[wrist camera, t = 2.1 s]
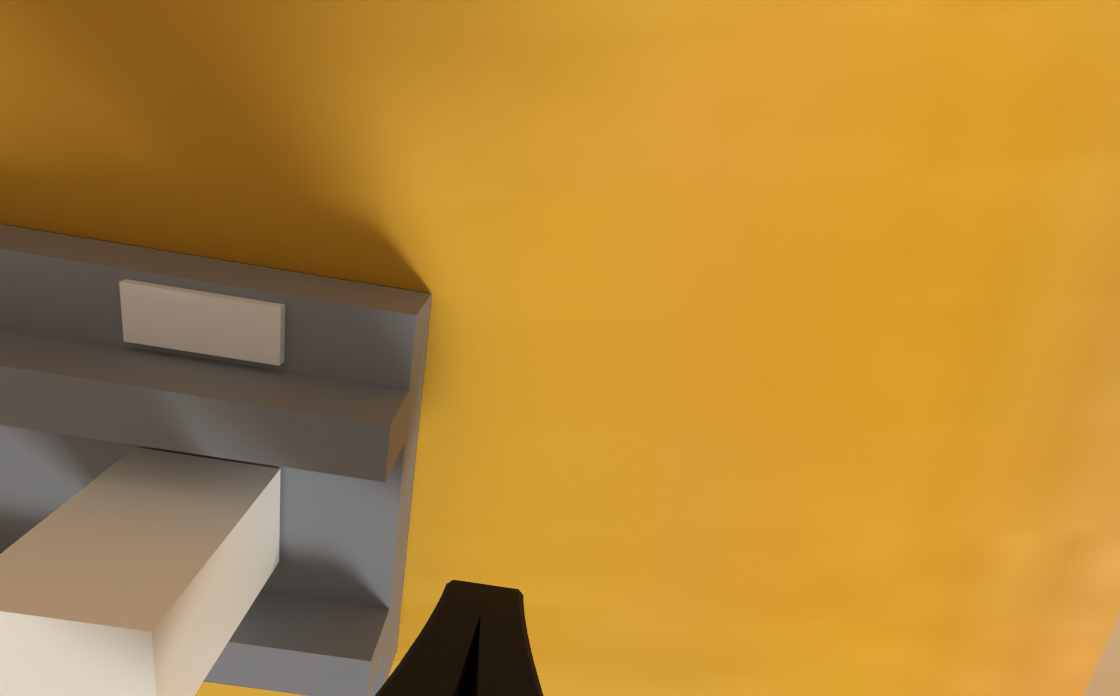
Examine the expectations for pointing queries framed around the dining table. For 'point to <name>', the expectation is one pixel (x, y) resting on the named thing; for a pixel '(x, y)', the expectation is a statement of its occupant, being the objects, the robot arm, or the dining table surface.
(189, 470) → the switch tab
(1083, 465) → the dining table surface
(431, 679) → the robot arm
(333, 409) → the switch board
